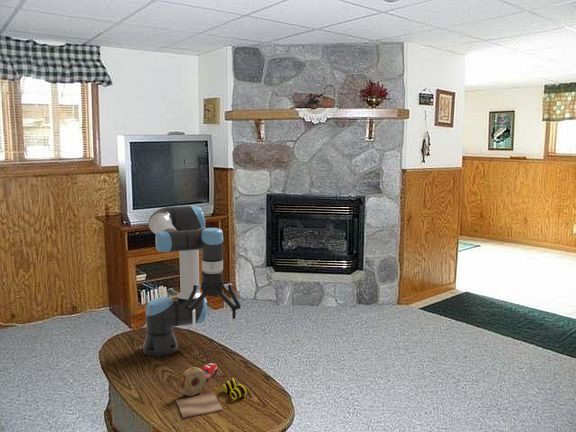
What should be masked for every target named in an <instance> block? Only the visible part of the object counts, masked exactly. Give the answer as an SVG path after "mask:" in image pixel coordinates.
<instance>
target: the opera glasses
mask: <svg viewBox="0 0 576 432" xmlns="http://www.w3.org/2000/svg"><path fill="white" fill-rule="evenodd" d="M222 387H223V390H224V393H225V394H228V393H229V395H230V397H231V399H233V400H234V401H236V400H237V399H240V398H241V397H245V396H247V389H246V388H245V386H244V385H243V384H241V383H238V384H236V382H235V379H234V378H233V377H232V378H231V379H230V380H228V381H227V382H225V383H223V384H222Z"/></svg>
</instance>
